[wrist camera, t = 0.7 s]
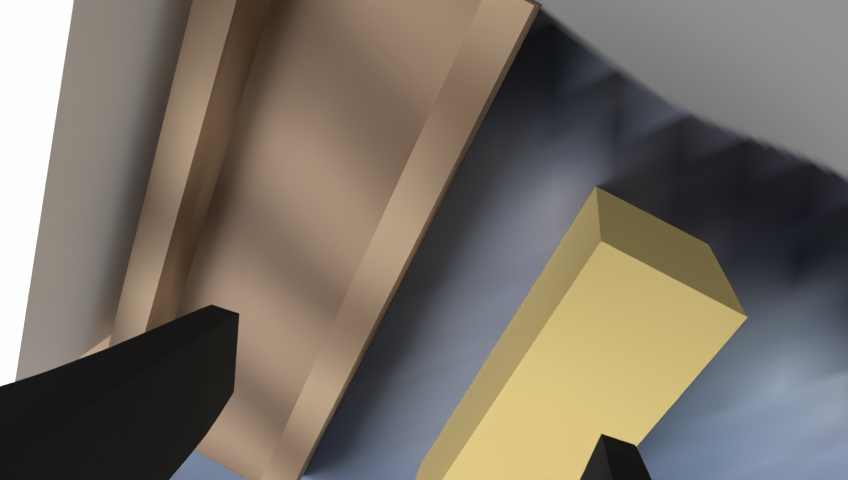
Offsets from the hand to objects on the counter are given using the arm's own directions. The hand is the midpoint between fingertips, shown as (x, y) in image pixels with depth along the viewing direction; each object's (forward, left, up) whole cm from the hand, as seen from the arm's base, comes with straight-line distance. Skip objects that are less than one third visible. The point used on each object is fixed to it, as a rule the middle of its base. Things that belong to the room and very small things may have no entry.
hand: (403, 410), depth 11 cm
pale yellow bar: (-4, -5, -10) cm, 12 cm away
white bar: (-4, +13, -9) cm, 16 cm away
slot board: (-4, +9, -10) cm, 14 cm away
